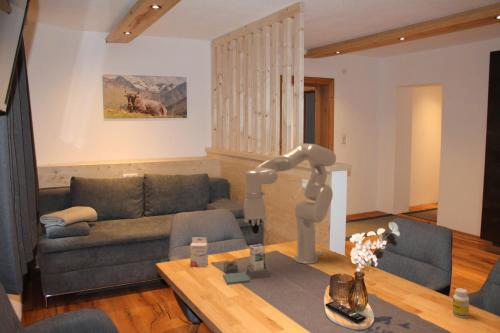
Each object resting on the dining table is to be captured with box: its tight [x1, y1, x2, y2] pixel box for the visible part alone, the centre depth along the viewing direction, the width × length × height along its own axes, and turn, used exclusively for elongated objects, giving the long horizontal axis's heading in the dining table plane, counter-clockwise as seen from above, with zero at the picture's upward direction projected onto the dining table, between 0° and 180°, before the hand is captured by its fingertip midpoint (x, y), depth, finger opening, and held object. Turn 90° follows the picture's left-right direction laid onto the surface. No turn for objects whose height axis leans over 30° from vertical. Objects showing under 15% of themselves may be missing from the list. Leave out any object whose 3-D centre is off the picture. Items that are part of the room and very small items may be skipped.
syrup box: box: [249, 243, 266, 271], centre depth 210 cm, size 6×6×14 cm
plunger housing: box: [223, 260, 239, 274], centre depth 215 cm, size 6×6×4 cm
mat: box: [222, 271, 251, 286], centre depth 205 cm, size 11×11×1 cm
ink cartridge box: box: [189, 236, 209, 268], centre depth 225 cm, size 9×5×15 cm, turn 84°
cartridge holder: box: [246, 264, 271, 280], centre depth 210 cm, size 9×9×4 cm
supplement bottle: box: [452, 287, 470, 319], centre depth 162 cm, size 5×5×10 cm
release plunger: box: [225, 257, 235, 265], centre depth 215 cm, size 4×4×6 cm
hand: (255, 232), depth 209 cm, fingers closed
